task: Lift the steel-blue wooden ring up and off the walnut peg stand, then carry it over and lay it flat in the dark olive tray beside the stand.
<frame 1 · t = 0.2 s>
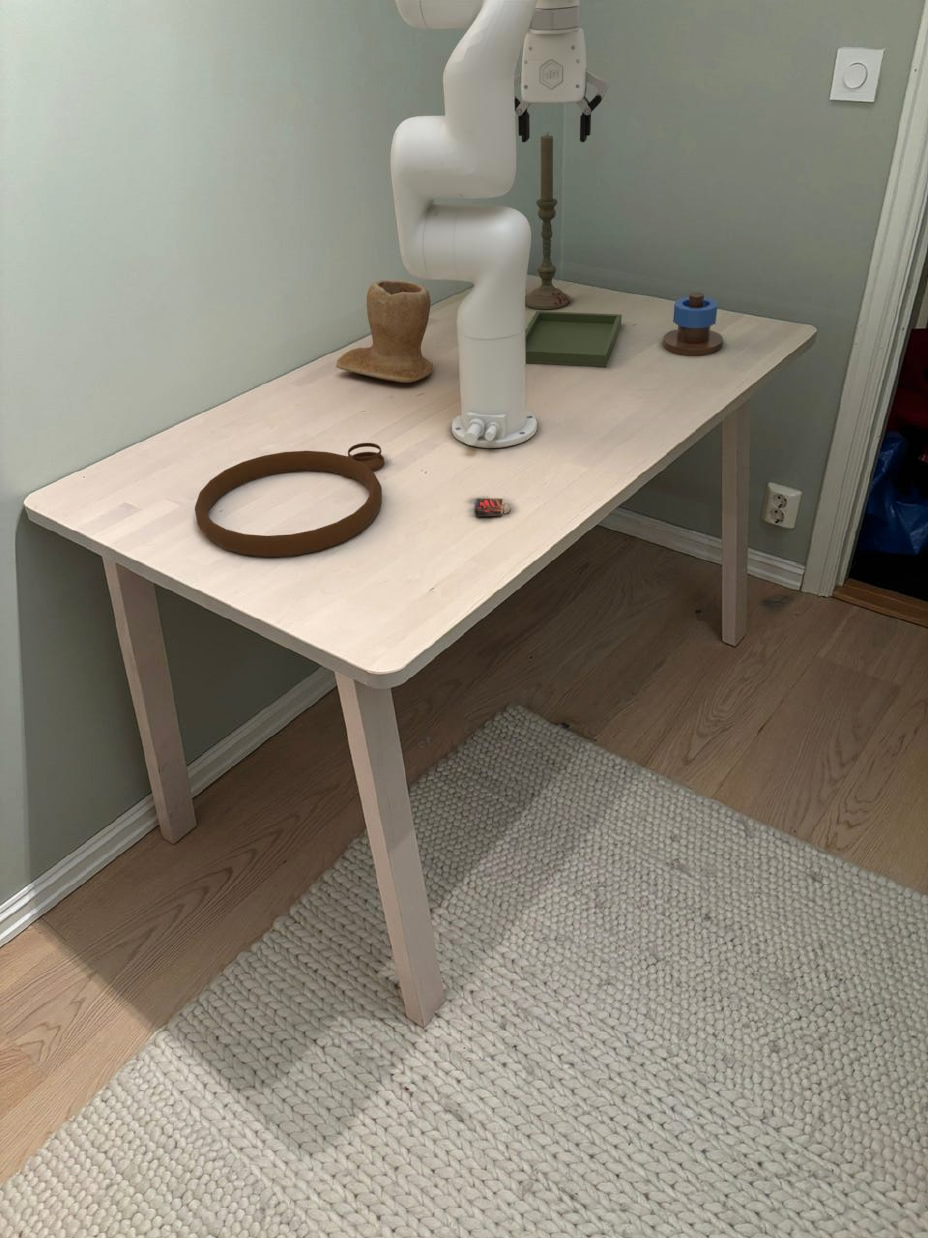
hand: (554, 140, 166), 31 cm above the table, tool pointing down, fingers open, 9 cm apart
candlestick holder: (546, 302, 194), on the table
decorative ring: (306, 502, 134), on the table
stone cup: (392, 373, 169), on the table
stand: (692, 344, 173), on the table
ring: (694, 320, 170), point 4 cm above the table, touching stand
tray: (569, 343, 176), on the table
matchbox: (491, 509, 130), on the table
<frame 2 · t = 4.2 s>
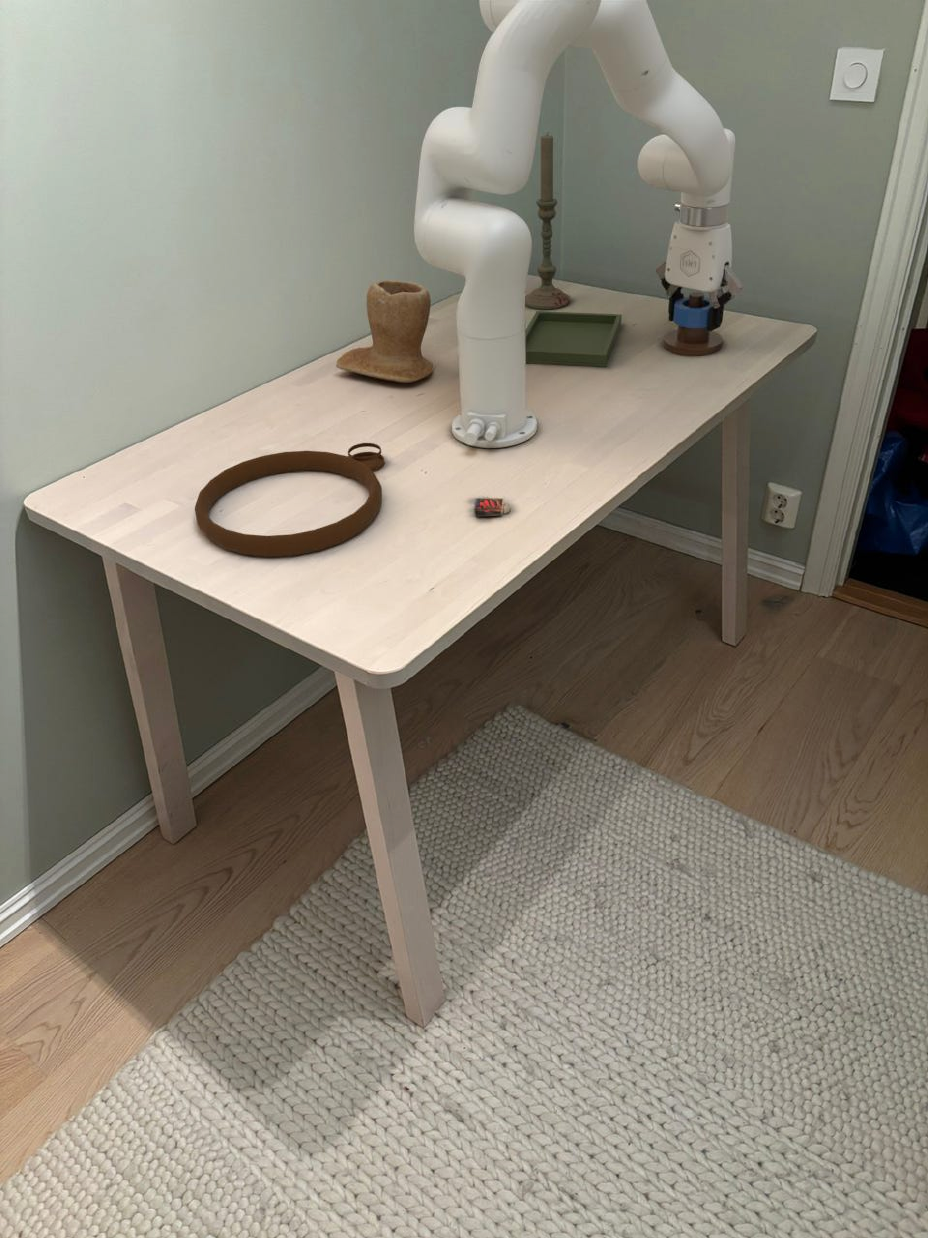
hand: (694, 323, 170), 4 cm above the table, tool pointing down, fingers closed on ring, 7 cm apart
ring: (694, 320, 170), point 4 cm above the table, touching gripper, stand
everything else where it was.
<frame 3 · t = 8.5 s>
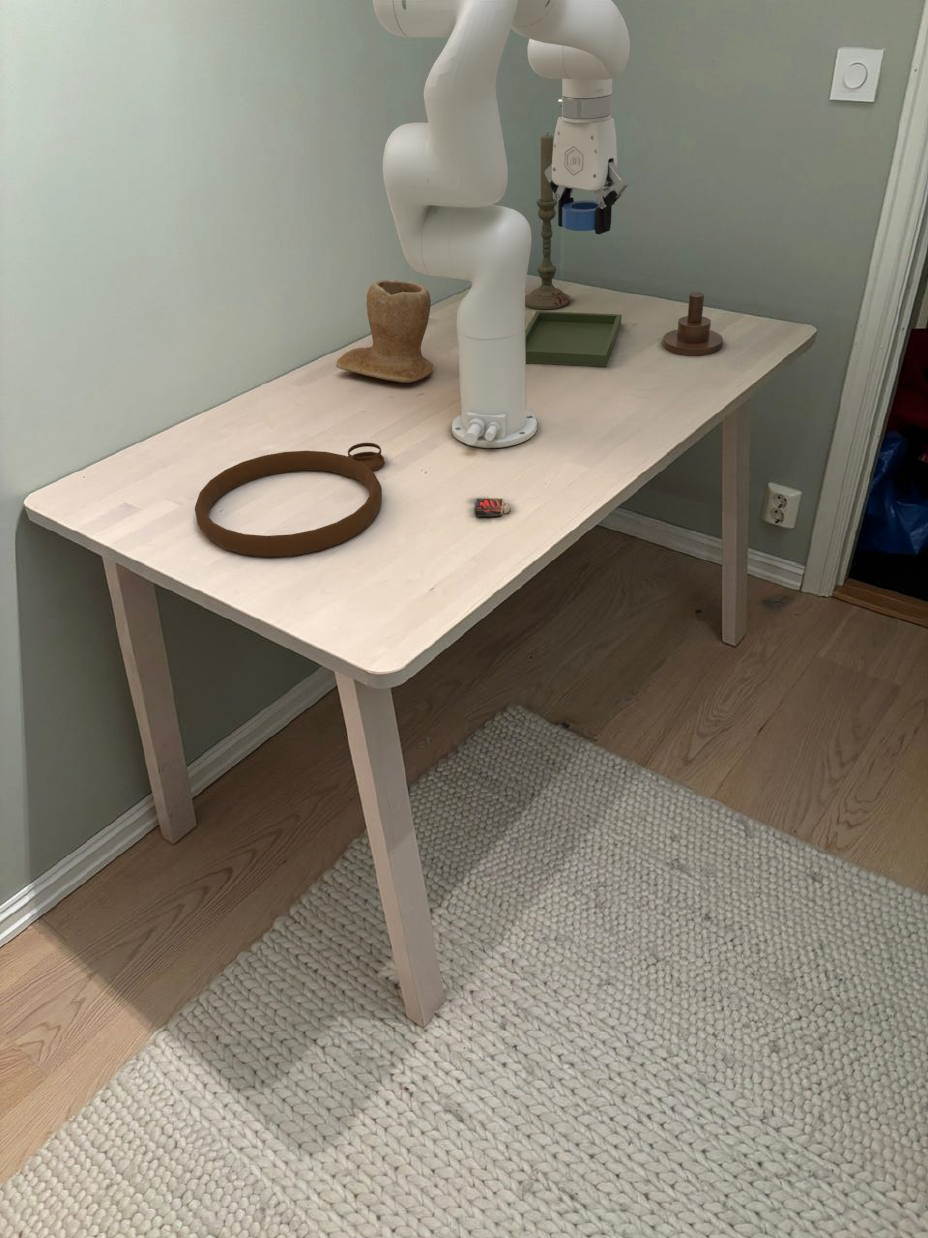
hand: (584, 227, 164), 20 cm above the table, tool pointing down, fingers closed on ring, 7 cm apart
ring: (584, 224, 164), point 20 cm above the table, touching gripper
everything else where it was.
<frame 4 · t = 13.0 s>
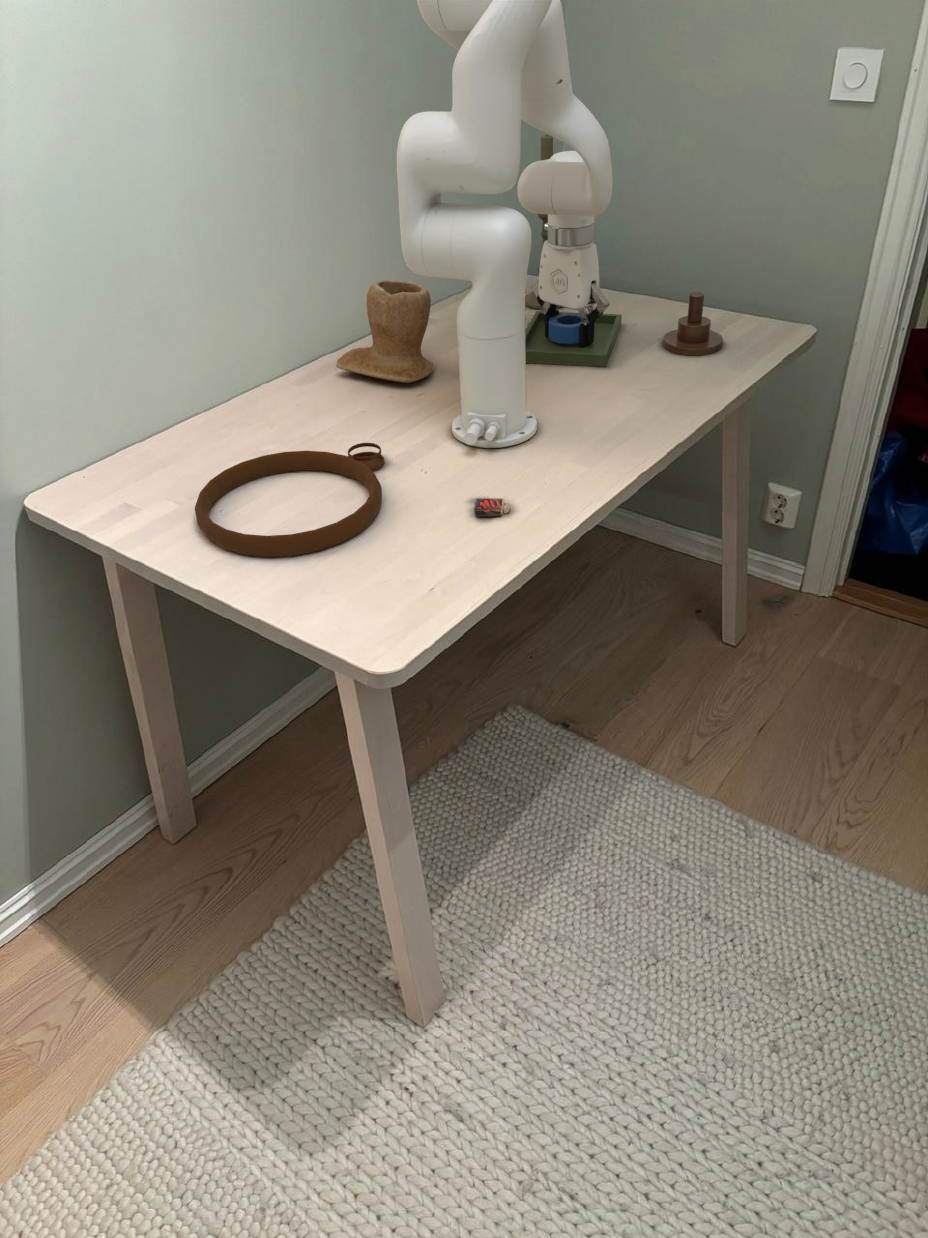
hand: (569, 338, 175), 1 cm above the table, tool pointing down, fingers closed on ring, 7 cm apart
ring: (569, 336, 175), point 1 cm above the table, touching gripper
everything else where it was.
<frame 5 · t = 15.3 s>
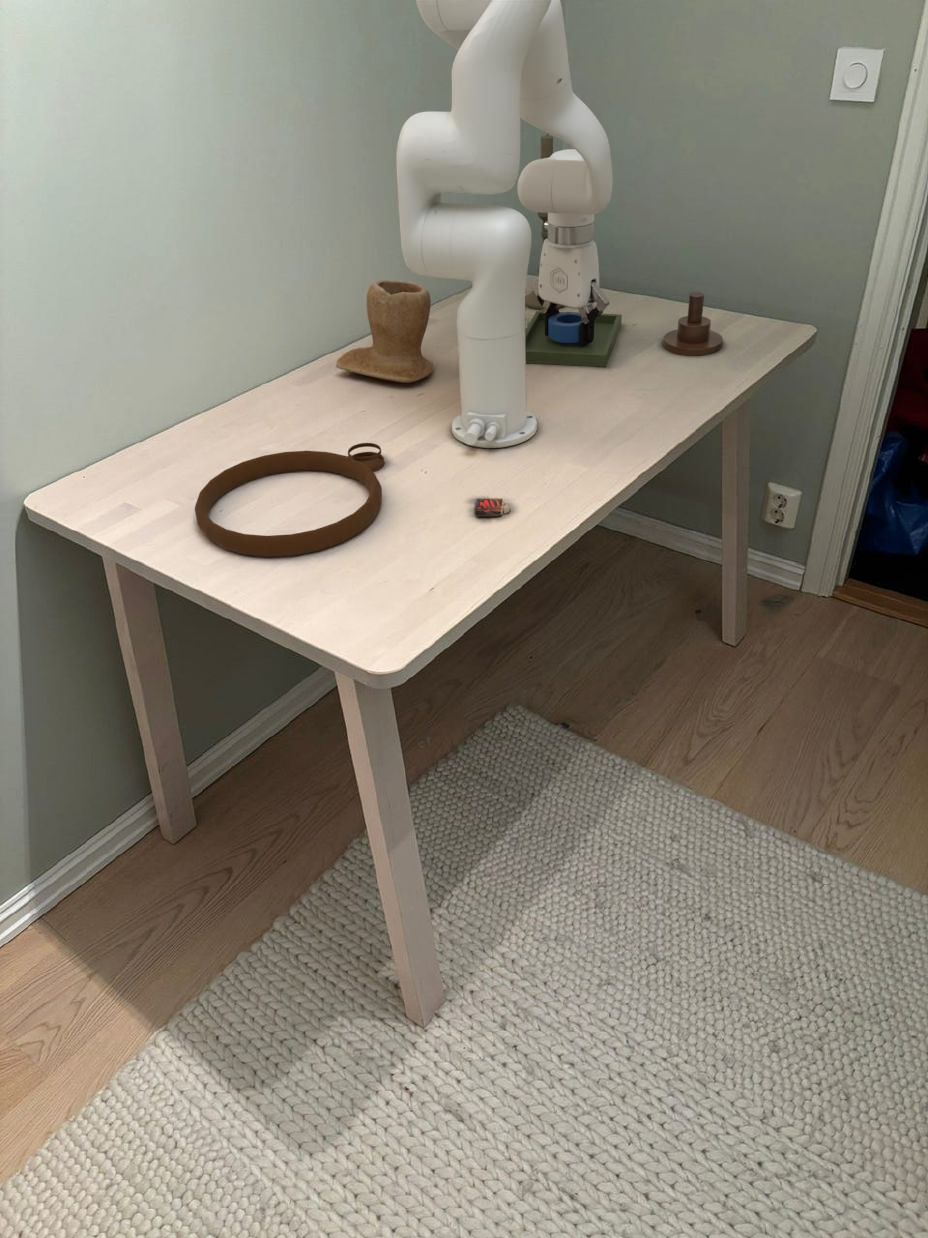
hand: (569, 337, 175), 1 cm above the table, tool pointing down, fingers closed on ring, 7 cm apart
ring: (569, 335, 175), point 1 cm above the table, touching gripper
everything else where it was.
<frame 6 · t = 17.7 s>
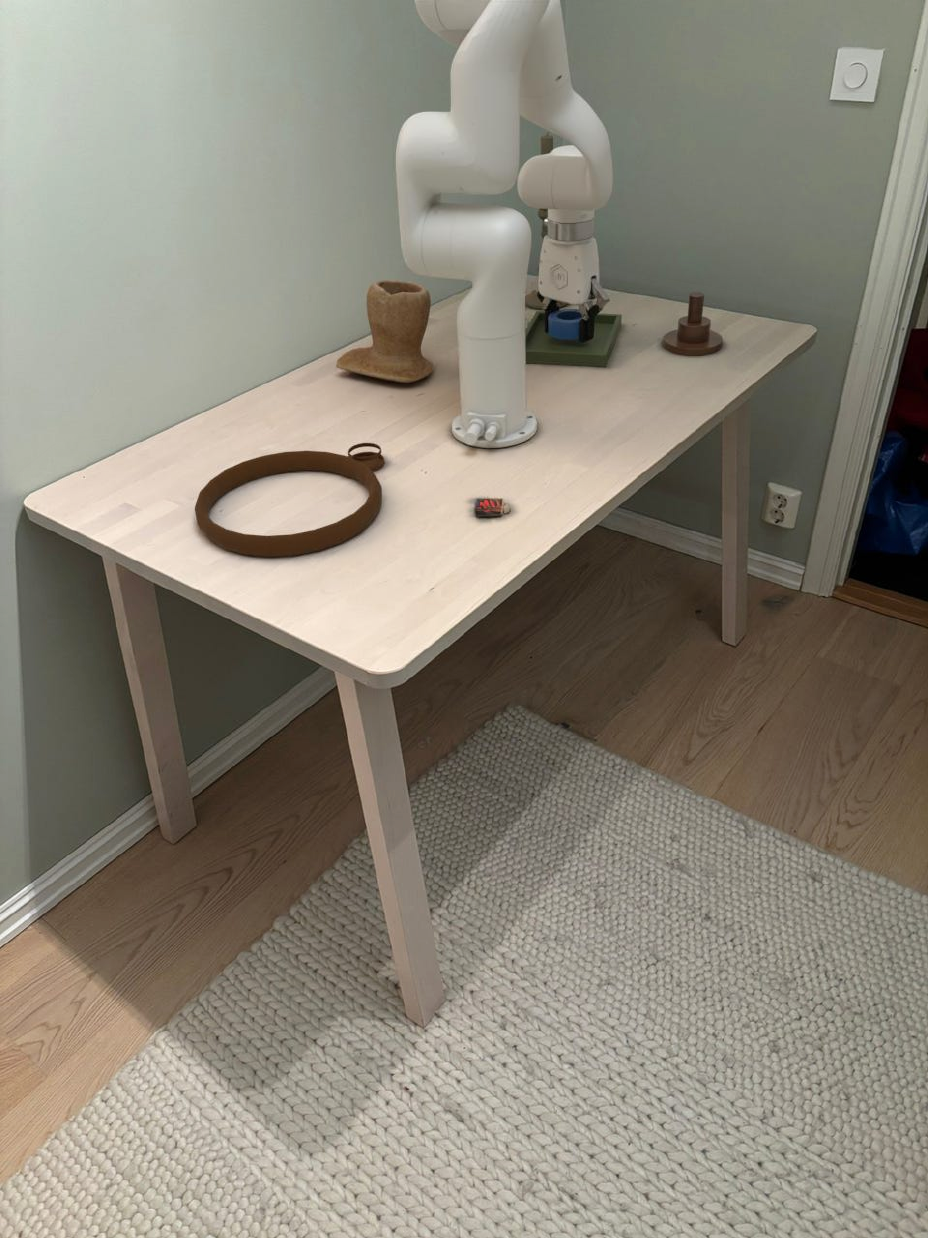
hand: (569, 334, 175), 2 cm above the table, tool pointing down, fingers closed on ring, 7 cm apart
ring: (569, 332, 175), point 2 cm above the table, touching gripper
everything else where it was.
when the fingers open (2 cm above the table, at t = 22.1 s): ring drops 1 cm, resting on tray.
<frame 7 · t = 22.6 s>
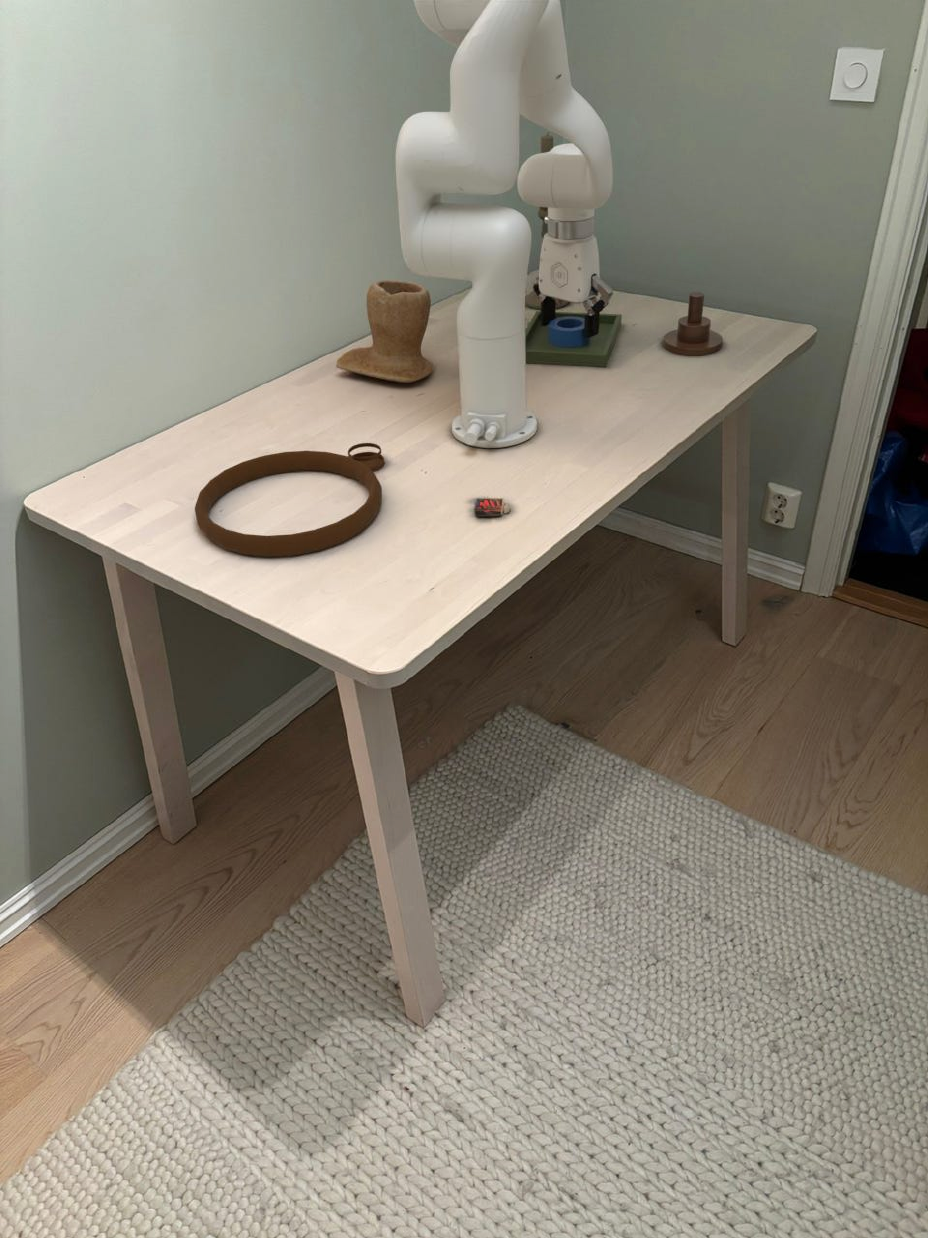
hand: (569, 329, 174), 2 cm above the table, tool pointing down, fingers open, 9 cm apart
ring: (569, 340, 175), point 1 cm above the table, touching tray
everything else where it was.
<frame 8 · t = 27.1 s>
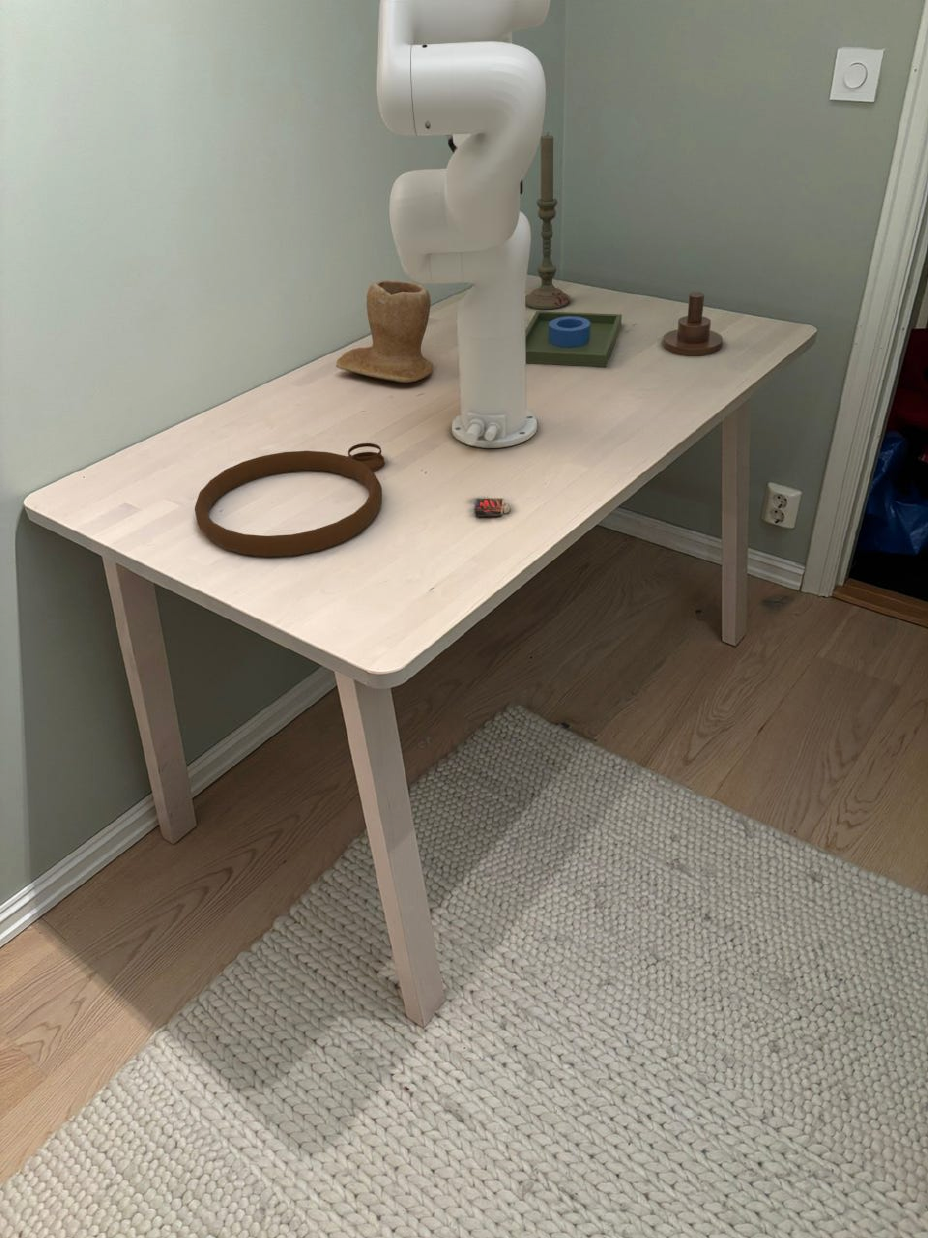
hand: (489, 191, 151), 28 cm above the table, tool pointing down, fingers open, 9 cm apart
nothing on the table moved.
at the end: ring touching tray; ring inside the target area in the tray (0.0 cm from its centre), point 0.6 cm above the tray's base; ring tilted 0° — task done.
